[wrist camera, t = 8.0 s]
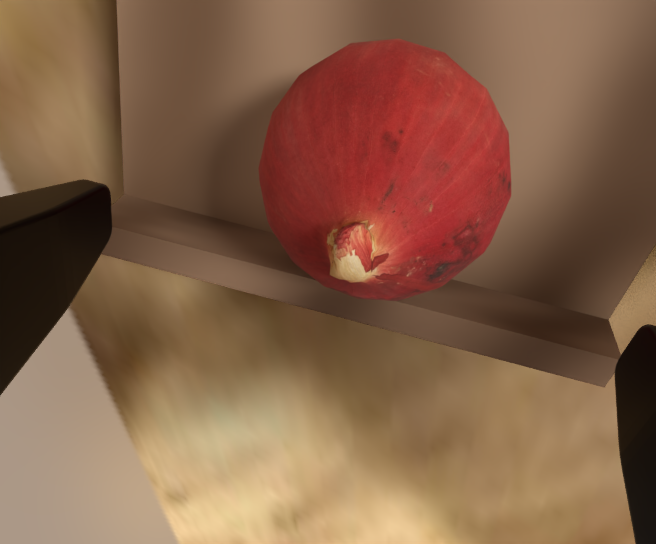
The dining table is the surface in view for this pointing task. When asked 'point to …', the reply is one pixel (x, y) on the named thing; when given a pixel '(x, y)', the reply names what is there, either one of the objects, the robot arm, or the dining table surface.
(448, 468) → the dining table surface
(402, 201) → the onion
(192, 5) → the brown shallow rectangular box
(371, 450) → the dining table surface
